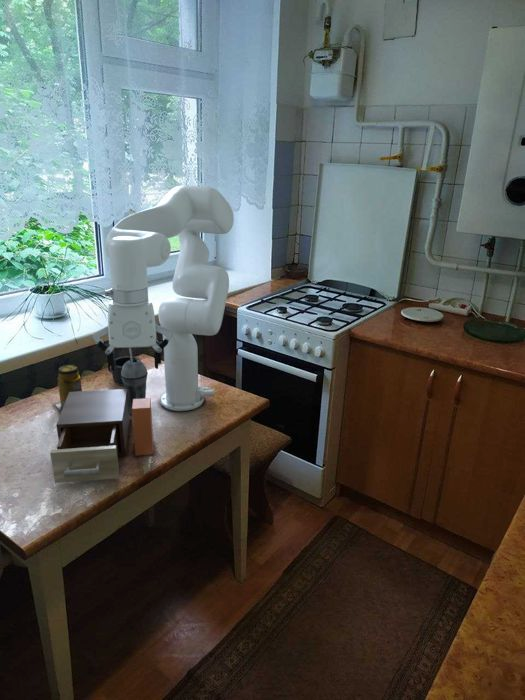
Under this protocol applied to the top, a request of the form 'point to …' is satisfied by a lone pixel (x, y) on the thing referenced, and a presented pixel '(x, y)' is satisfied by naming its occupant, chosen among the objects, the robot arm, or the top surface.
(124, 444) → the cabinet
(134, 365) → the beverage cup
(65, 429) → the drawer
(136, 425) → the block
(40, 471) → the top surface
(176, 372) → the robot arm
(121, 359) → the mug
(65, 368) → the condiment
